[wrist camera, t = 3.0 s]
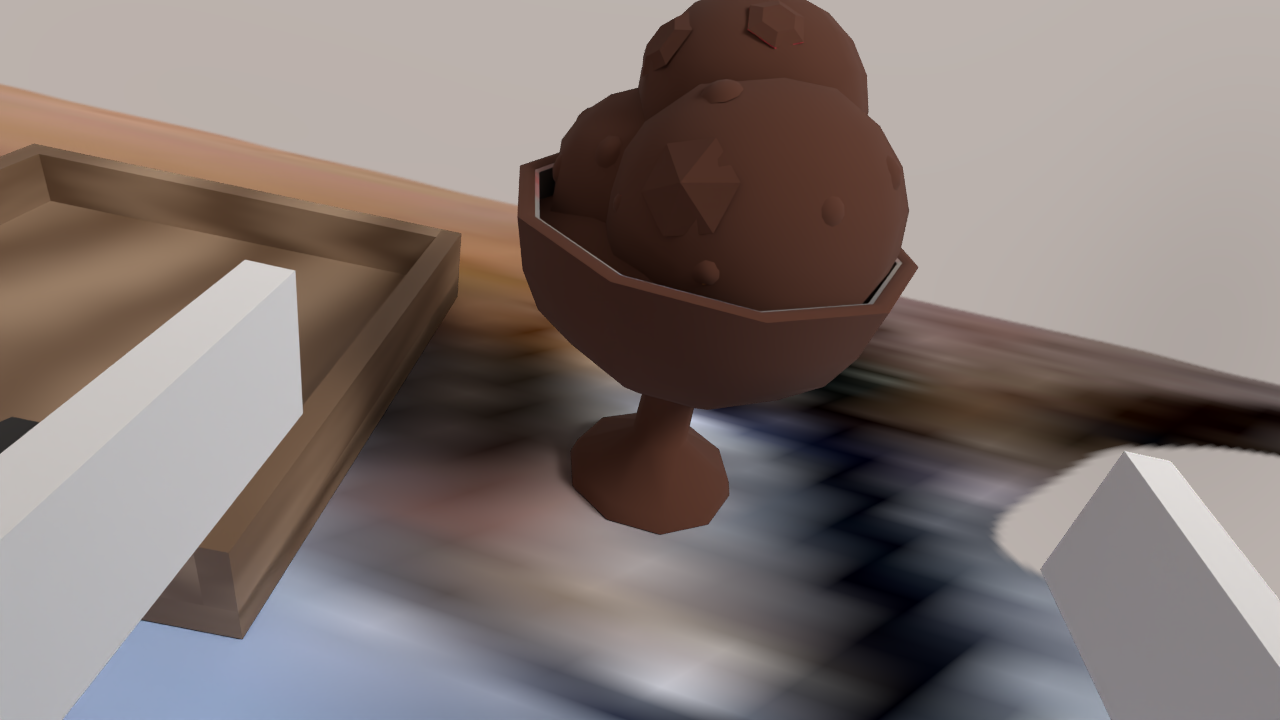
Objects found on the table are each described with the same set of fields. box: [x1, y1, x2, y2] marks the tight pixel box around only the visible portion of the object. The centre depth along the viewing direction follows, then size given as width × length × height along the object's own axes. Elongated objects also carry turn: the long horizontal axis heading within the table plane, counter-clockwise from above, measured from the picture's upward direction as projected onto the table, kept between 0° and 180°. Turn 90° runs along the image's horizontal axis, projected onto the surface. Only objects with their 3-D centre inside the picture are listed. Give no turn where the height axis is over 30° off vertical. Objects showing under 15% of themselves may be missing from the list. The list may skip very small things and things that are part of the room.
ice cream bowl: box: [518, 0, 918, 535], centre depth 22 cm, size 11×11×15 cm
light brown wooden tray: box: [0, 144, 461, 639], centre depth 24 cm, size 18×18×3 cm
